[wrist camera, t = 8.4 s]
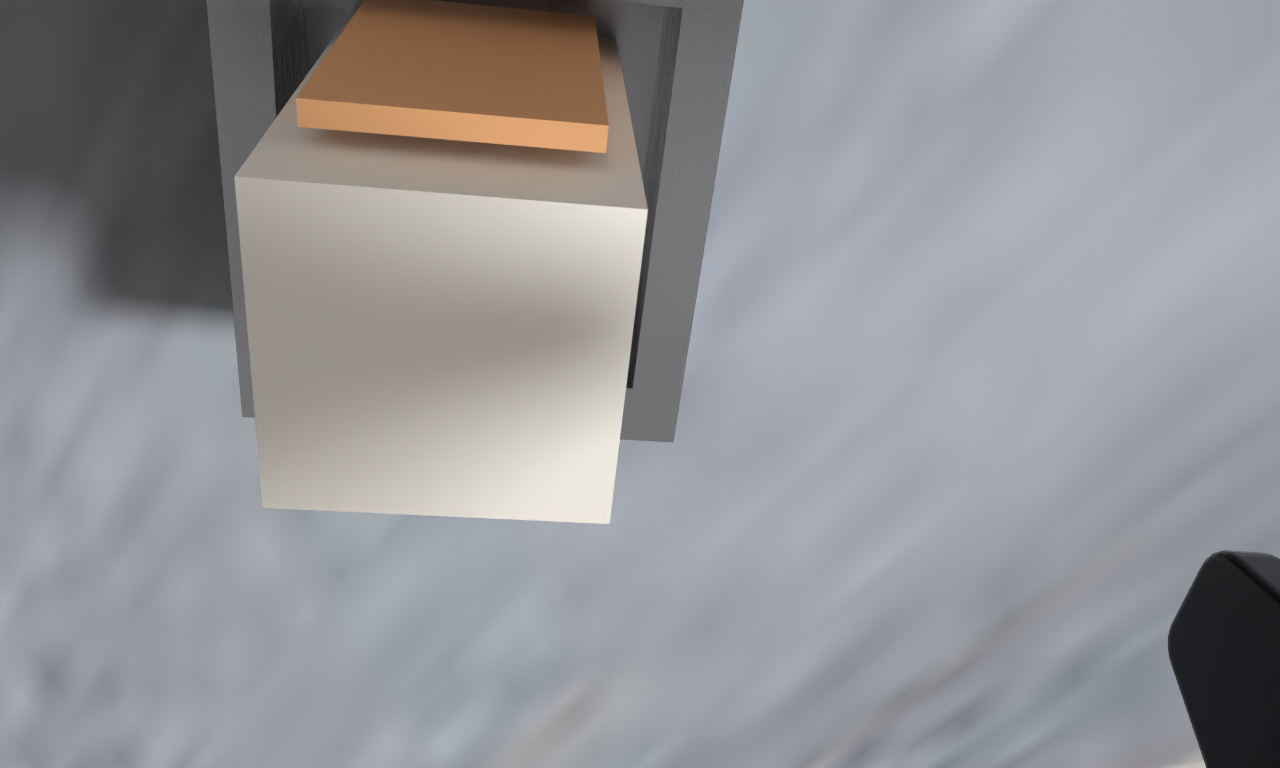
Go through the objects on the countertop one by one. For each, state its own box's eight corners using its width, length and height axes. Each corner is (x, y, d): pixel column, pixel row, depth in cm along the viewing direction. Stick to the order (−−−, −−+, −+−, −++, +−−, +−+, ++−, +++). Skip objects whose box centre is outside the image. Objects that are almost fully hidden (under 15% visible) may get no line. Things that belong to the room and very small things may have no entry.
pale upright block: (351, -23, 16) (229, 125, 10) (619, 4, 17) (653, 161, 11) (358, 253, 18) (261, 507, 12) (592, 270, 19) (608, 523, 13)
